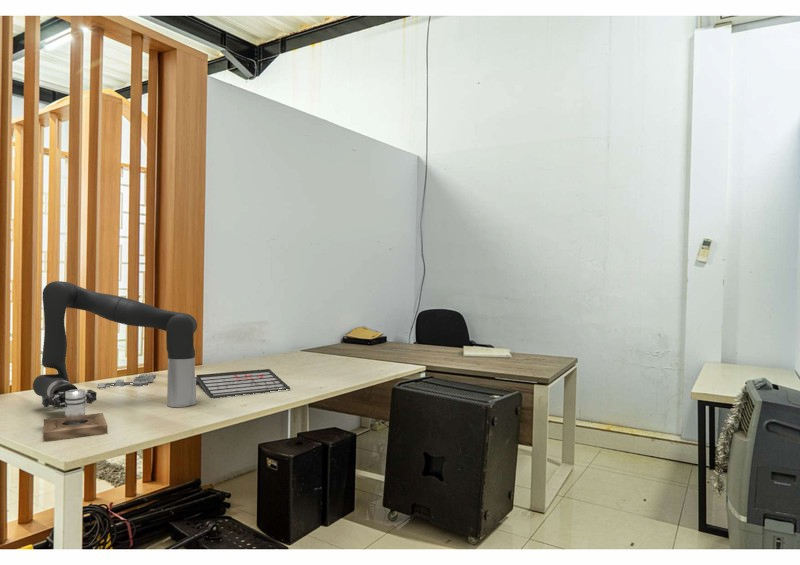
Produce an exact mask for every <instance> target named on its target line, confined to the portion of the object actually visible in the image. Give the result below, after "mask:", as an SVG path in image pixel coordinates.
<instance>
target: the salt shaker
mask: <svg viewBox="0 0 800 565" xmlns="http://www.w3.org/2000/svg"><path fill="white" fill-rule="evenodd" d="M85 393H86V389H82V388H80V389H79V388H77V389H75V390H68V391H66V392H65V407H64V408H65V410H64V411H65V413H64V417H65V425H80V424H84V423H85V415H86V402H85V399H86V396H85Z"/></svg>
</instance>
